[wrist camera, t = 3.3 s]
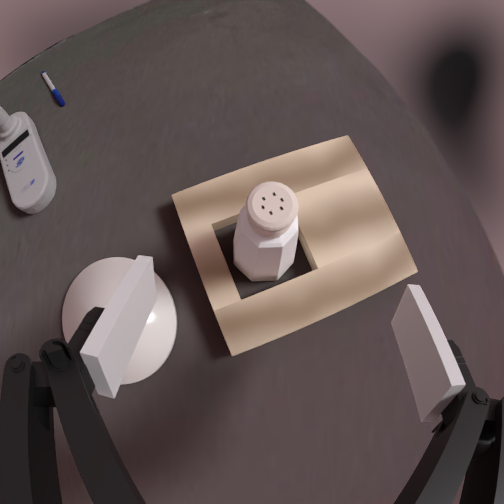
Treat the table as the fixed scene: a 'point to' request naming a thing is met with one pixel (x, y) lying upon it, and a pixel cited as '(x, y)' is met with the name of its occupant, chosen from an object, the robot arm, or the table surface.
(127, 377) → the saucer
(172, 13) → the table surface
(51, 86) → the ballpoint pen
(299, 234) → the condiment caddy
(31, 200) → the electronic device
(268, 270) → the pepper shaker
